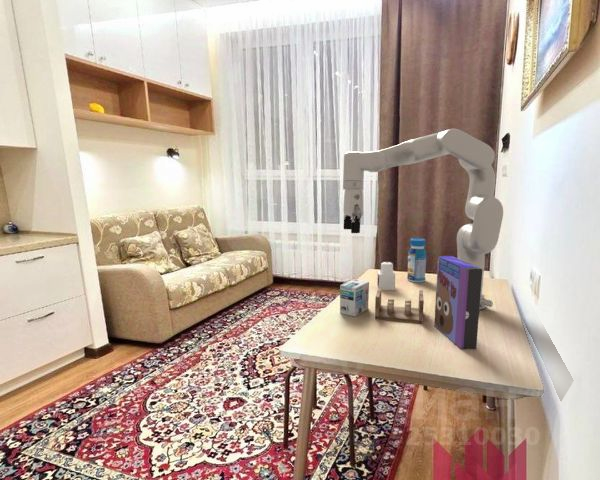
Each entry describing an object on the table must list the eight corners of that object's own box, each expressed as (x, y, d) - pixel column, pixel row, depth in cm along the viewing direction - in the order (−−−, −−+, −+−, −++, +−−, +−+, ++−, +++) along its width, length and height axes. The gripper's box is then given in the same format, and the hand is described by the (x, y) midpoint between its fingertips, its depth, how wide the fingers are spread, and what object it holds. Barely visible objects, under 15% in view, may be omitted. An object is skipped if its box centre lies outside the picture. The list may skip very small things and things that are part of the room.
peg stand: (422, 323, 129) (423, 300, 128) (374, 318, 133) (375, 297, 132) (421, 311, 140) (422, 290, 139) (377, 307, 145) (378, 287, 143)
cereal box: (434, 326, 127) (438, 255, 123) (447, 325, 127) (452, 255, 123) (460, 349, 110) (466, 268, 106) (476, 348, 110) (482, 268, 106)
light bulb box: (355, 317, 135) (355, 288, 133) (339, 313, 139) (339, 284, 137) (369, 308, 144) (369, 281, 142) (353, 305, 148) (353, 278, 146)
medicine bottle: (377, 285, 174) (378, 259, 172) (393, 286, 173) (394, 260, 171) (378, 290, 167) (379, 263, 165) (394, 290, 166) (396, 264, 164)
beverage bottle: (422, 283, 176) (425, 241, 173) (404, 281, 180) (406, 239, 177) (427, 279, 183) (429, 238, 180) (409, 277, 188) (411, 237, 184)
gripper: (370, 186, 133) (368, 234, 136) (355, 185, 150) (353, 227, 153) (350, 186, 132) (348, 234, 135) (337, 184, 149) (335, 228, 152)
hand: (351, 231), depth 144 cm, fingers open, 9 cm apart
